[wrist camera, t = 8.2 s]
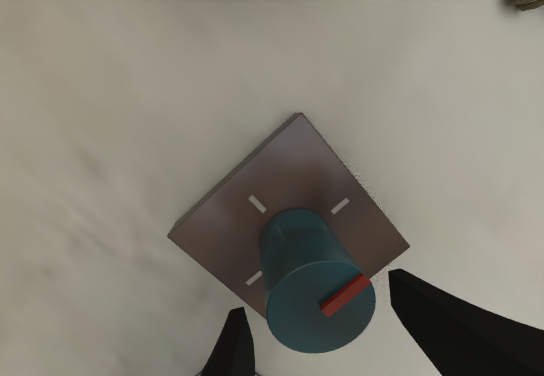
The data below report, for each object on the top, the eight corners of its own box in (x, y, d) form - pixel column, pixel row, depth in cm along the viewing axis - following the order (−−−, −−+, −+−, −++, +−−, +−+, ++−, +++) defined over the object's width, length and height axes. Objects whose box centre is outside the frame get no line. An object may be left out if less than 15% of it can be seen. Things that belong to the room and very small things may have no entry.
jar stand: (394, 233, 21) (412, 247, 19) (286, 319, 22) (291, 342, 20) (295, 112, 18) (302, 111, 15) (175, 223, 19) (165, 237, 17)
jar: (293, 286, 19) (317, 376, 12) (243, 243, 18) (241, 319, 11) (345, 241, 18) (401, 311, 12) (299, 192, 17) (331, 241, 10)
